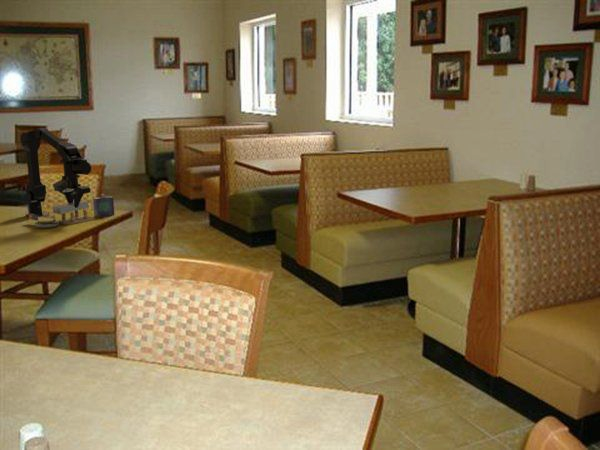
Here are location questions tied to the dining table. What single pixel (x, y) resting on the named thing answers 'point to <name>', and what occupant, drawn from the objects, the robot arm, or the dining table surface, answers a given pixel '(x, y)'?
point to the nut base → (46, 226)
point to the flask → (103, 206)
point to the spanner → (69, 207)
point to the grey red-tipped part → (42, 218)
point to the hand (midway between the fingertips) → (73, 207)
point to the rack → (75, 218)
